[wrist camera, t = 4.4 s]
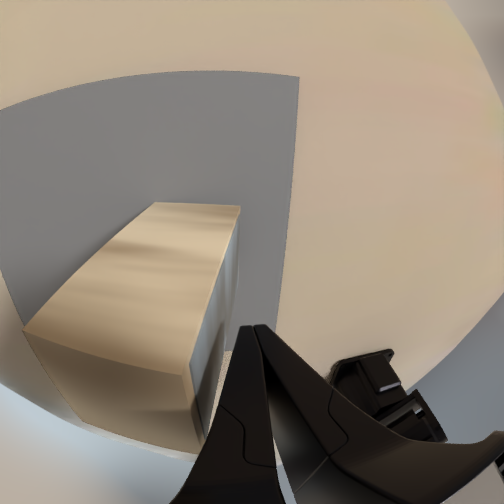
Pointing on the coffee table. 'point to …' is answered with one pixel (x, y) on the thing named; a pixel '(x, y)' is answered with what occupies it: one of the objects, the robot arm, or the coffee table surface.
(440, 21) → the coffee table surface
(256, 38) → the coffee table surface
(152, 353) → the birch block
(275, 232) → the mat
